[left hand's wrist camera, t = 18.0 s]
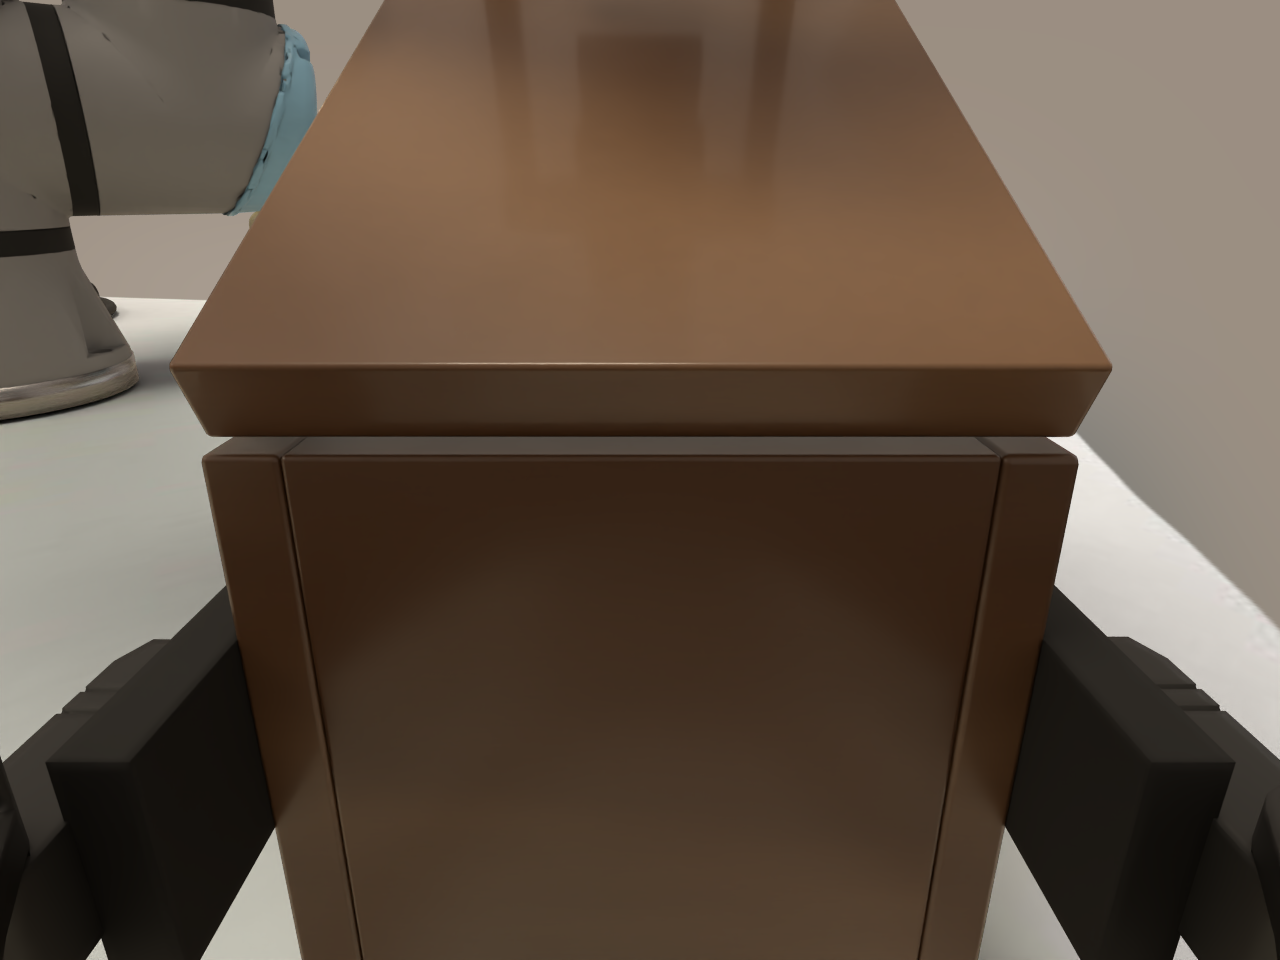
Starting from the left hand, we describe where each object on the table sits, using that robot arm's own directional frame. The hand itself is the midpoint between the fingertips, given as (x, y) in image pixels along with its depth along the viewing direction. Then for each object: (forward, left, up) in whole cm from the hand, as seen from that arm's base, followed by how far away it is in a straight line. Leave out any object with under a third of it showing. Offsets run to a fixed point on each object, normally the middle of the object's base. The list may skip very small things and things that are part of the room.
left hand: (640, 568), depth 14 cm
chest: (+3, +1, -6) cm, 7 cm away
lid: (+3, +1, +8) cm, 8 cm away
